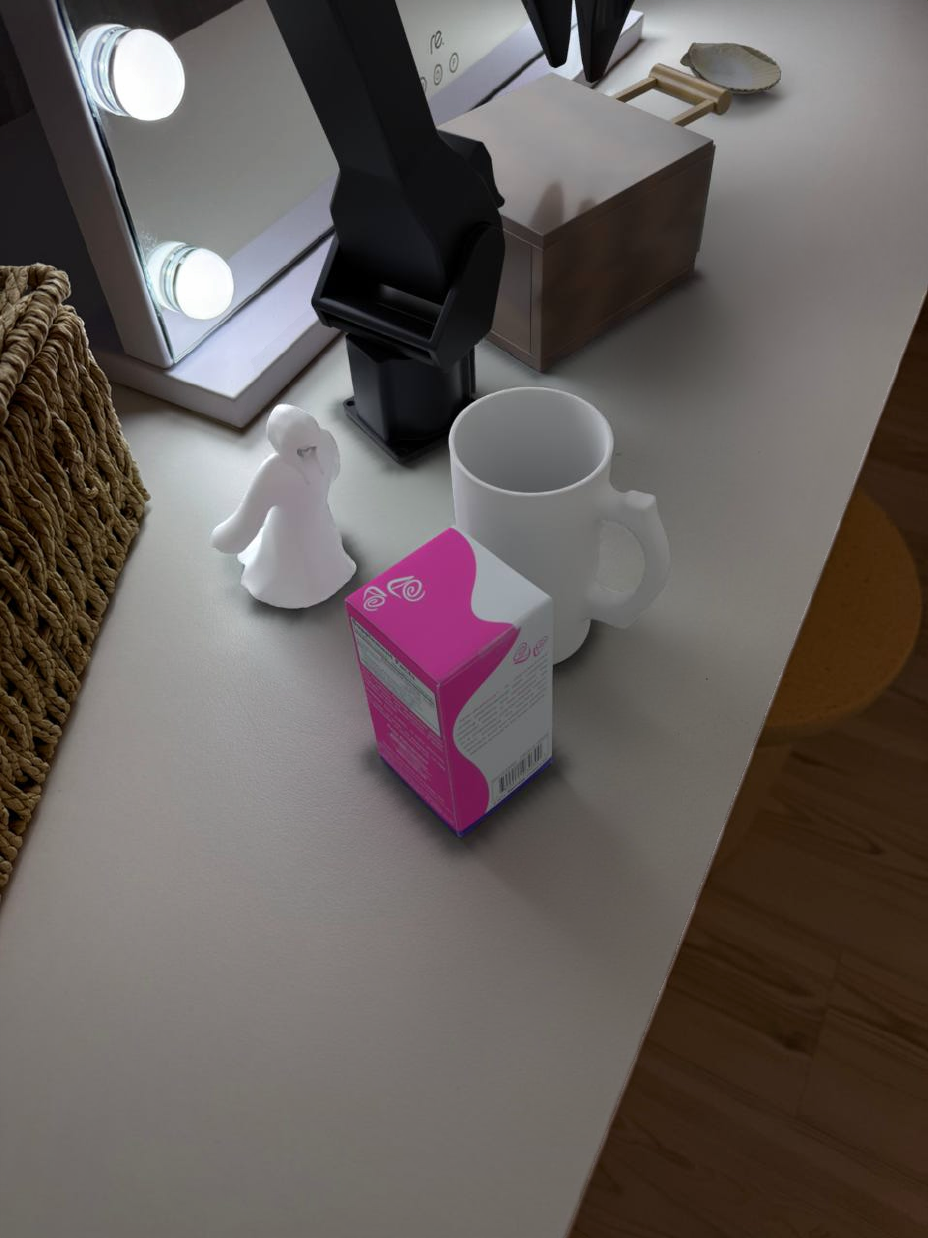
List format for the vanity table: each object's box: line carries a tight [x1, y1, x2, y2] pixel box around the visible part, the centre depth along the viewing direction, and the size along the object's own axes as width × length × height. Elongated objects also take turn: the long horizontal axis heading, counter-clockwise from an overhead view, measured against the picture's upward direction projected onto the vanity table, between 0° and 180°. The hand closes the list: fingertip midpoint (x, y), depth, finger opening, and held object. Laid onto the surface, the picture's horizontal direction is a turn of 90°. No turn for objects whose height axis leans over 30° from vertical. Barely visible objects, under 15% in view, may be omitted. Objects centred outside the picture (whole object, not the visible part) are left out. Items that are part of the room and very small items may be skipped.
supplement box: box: [344, 524, 554, 838], centre depth 42 cm, size 6×6×12 cm
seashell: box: [679, 42, 782, 95], centre depth 86 cm, size 8×3×8 cm
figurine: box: [209, 403, 358, 610], centre depth 50 cm, size 8×8×12 cm
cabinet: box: [435, 72, 714, 373], centre depth 67 cm, size 15×14×9 cm
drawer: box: [609, 62, 733, 254], centre depth 68 cm, size 19×13×8 cm, turn 133°
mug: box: [448, 386, 671, 666], centre depth 46 cm, size 10×7×12 cm, turn 60°
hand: (576, 72), depth 61 cm, fingers open, 3 cm apart
